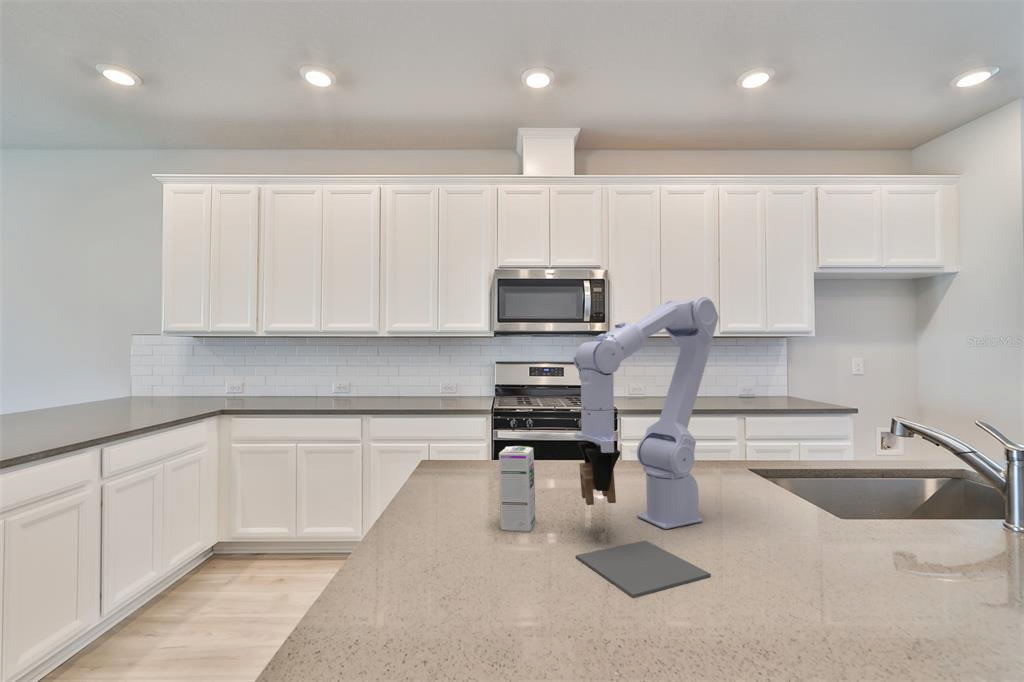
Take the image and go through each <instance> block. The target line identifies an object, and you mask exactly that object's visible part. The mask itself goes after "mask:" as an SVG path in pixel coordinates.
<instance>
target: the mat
mask: <svg viewBox="0 0 1024 682" xmlns="http://www.w3.org/2000/svg"><path fill="white" fill-rule="evenodd" d="M575 558H576V560H578V561H579V562H581V563H582V564H584V565H585V566H587V567H588V568H590V569H591V570H592V571H594V572H595V573H596V574H598V575H600V576H601V577H602V578H604V579H605V580H607V581H608V582H609V583H611V584H613V585H614V586H615V587H616V588H618V589H619V590H621V591H622V592H623V593H625V594H627V595H628V596H629V597H631V598H633V599H634V598H638V597H641V596H645V595H649V594H652V593H655V592H660V591H663V590H667V589H670V588H675V587H679V586H680V585H681V586H682V585H685V584H688V583H692V582H696V581H699V580H703V579H707V578H711V576H712V573H710V572H708V571H706V570H704V569H703V568H701V567H699V566H698V565H695V564H693V563H690V562H688V560H684V559H683V558H682V557H679V556H677V555H675V554H673V553H672V552H669V551H667V550H666V549H664V548H661V547H659V546H658V545H656V544H654V543H651V542H650V541H648V540H642V541H641V540H640V541H637V542H636V541H635V542H633V543H632V542H631V543H628V544H623V545H617V546H613V547H609V548H608V547H607V548H604V549H599V550H595V551H593V550H592V551H590V552H585V553H580V554H576V555H575Z"/></svg>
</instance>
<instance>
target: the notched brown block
mask: <svg viewBox="0 0 1024 682" xmlns="http://www.w3.org/2000/svg"><path fill="white" fill-rule="evenodd" d="M579 475H580V478H579V479H580V490H581V492H580V493H581V498H582V499H585V504H586V506H594V505H595V500H594V499H595V498H594V491H597V490H596V488H595V484H594V478H593V471H592V466H591V463H585V462H581V463H579ZM615 484H616V483H615V468H614V469H613V473H612V478H611V483H610V487H609V491H601V495H602V496H603V497H605V498H606V501H607V503H608V504H617V498H616V487H615V486H616V485H615Z"/></svg>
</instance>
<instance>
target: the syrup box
mask: <svg viewBox="0 0 1024 682" xmlns="http://www.w3.org/2000/svg"><path fill="white" fill-rule="evenodd" d="M534 458H535V456H534V447H532V446H527V445H526V446H524V445H514V446H505V447H504V449H502V450H501V451H500V452H499V453H498V463H499V464H498V467H499V468H498V471H499V473H498V474H499V476H498V477H499V504H500V505H499V509H500V510H499V511H500V512H499V513H500V516H499V517H500V519H499V520H500V529H501V530H502V531H510V532H528V533H530V532H531V530H532V528H533V527H534V524H535V523H536V495H535V494H536V491H535V490H536V489H535V461H534V460H535V459H534Z"/></svg>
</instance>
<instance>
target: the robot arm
mask: <svg viewBox="0 0 1024 682" xmlns="http://www.w3.org/2000/svg"><path fill="white" fill-rule="evenodd" d="M718 321H719V314H718V312H717V309H716V305H715V304H714V302H713V301H712V300H711V299H710V298H709V297H707V296H701V297H698V298H690V299H689V298H688V299H683V300H674V301H673V300H669V301H666V302H664V303H662V304H660V305H658V306H657V308H655V309H654V310H653V311H652V312H650V313H648V314H647V315H645V316H644V317H642V318H641V319H640V320H638V321H637V322H635V323H632V322H625V321H622V322H621V321H620V322H617V323H615V324H614V327H615V328H613V329H612V330H610V331H608V332H607V333H600V334H599V335H597V336H596V337H597V338H596V339H595V340H594V341H587V342H584V343H582V344H580V345H579V347H578V349H577V351H576V352H575V356H573V358H572V359H573V364H574V366H575V368H576V370H577V371H578V379H579V380H580V402H581V403H580V404H581V405H580V410H581V412H580V413H581V419H580V420H581V421H580V422H581V432H578V433H574V438H576V439H580V440H581V439H582V440H584V441H580V442H579V441H578V443H577V445H578V448H579V449H580V451H581V454H582V457H583V460H584V461H583V462H584V463H591V466H592V471H593V478H594V484H595V488H596V490H595V491H596V492H602V491H609V487H610V483H611V478H612V473H613V469H614V470H615V466H616V463H617V461H618V460H619V458H620V456H621V451H620V450H618V449H615V440H616V433H615V405H614V404H615V402H614V401H615V400H614V399H615V397H614V396H615V395H614V373H616V372H617V371H618V369H619V368H620V366H621V363H622V361H624V360H626V359H627V358H629V357H631V356H632V355H633V354H635V353H636V352H638V351H640V350H641V349H642V348H643V346H644V343H645V339H647V338H649V337H651V336H653V335H655V334H658V333H659V332H660V331H662V330H665V331H666V333H667V334H668V336H669V337H670V339H671V340H672V341H673V343H674V344H676V345H677V346H678V347H679V349H680V351H679V354H678V356H677V361H676V363H675V364H676V365H675V368H674V371H673V374H672V378H671V380H670V384H669V388H668V391H667V394H666V397H665V400H664V404H663V407H662V410H661V413H660V416H659V420H658V421H657V422H654V423H653V424H651V425H650V426H648V428H646V432H645V434H644V436H643V437H642V438H641V440H640V441H639V443H638V445H637V448H636V449H637V450H636V456H637V460H638V462H639V464H640V465H641V466H643V467H642V468H643V472H645V481H646V483H645V484H646V485H645V486H646V487H645V488H646V489H645V490H646V491H645V492H646V511H645V512H641V513H637V515H636V517H637V518H639V519H642V520H643V521H645V522H649V523H650V524H653V525H654V526H657V527H660V528H661V529H664V530H667V529H672V528H677V527H682V526H687V525H692V524H696V523H701V522H703V518H701V517H700V514H699V513H700V508H699V505H700V504H699V502H700V501H699V485H698V482H697V480H696V478H695V477H694V475H693V474H691V473H690V472H691V471H692V469H693V468H694V464H695V459H696V458H695V449H696V445H697V441H696V440H695V438H694V435H692V434H691V433H690V431H689V430H688V428H689V424H690V420H691V417H692V414H693V410H694V406H695V403H696V400H697V396H698V393H699V390H700V385H701V384H702V383H701V382H702V379H703V376H704V373H705V370H706V369H705V368H706V365H707V362H708V358H709V354H710V352H711V345H712V341H713V339H714V334H715V332H716V327H717V324H718Z"/></svg>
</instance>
